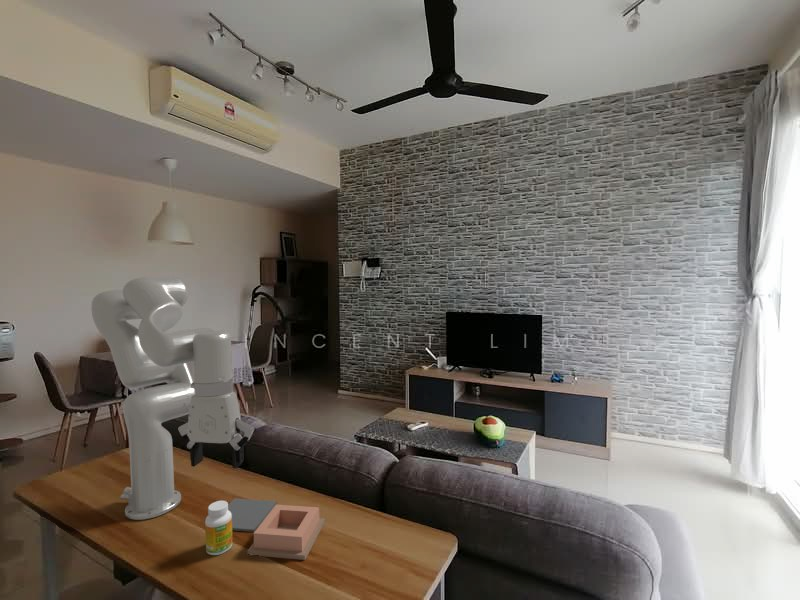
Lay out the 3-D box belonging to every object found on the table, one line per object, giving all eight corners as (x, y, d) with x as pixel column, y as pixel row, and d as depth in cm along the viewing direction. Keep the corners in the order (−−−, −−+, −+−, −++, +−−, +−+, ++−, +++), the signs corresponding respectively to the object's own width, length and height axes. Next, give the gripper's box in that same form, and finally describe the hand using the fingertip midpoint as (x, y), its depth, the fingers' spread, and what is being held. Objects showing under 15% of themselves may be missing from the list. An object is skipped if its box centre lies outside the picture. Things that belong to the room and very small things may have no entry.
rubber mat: (207, 528, 94) (207, 525, 94) (234, 500, 106) (234, 498, 106) (254, 532, 92) (254, 529, 92) (276, 503, 104) (276, 501, 104)
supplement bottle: (215, 559, 83) (213, 515, 83) (200, 550, 86) (199, 507, 86) (237, 544, 88) (236, 503, 87) (223, 536, 91) (221, 496, 90)
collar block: (247, 555, 84) (246, 535, 84) (274, 518, 97) (274, 501, 97) (304, 560, 83) (304, 540, 83) (324, 522, 96) (324, 505, 95)
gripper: (165, 392, 83) (169, 471, 83) (242, 393, 80) (245, 474, 81) (189, 383, 90) (192, 455, 91) (259, 384, 88) (262, 458, 88)
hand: (217, 464), depth 86 cm, fingers open, 9 cm apart
